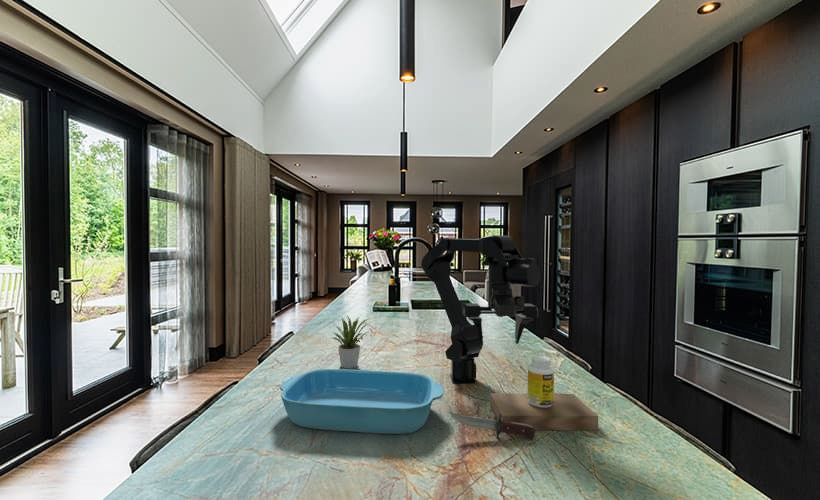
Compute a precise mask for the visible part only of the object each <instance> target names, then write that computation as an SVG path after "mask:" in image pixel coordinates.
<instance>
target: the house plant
mask: <svg viewBox="0 0 820 500" xmlns="http://www.w3.org/2000/svg"><path fill="white" fill-rule="evenodd" d="M345 316H346V319H347V321H346V320H345V319H344V318H343V317H341V322H342V328H343V330H342V329H341V327H339V326H338V325H336V324H335V323H334V322H331V321H328V322H329V323H331V324H333V325H334V326H335V327H336V328H337V329H338V331H339V333H340V334H341V335H342V336H341V335H340V334H338V333H337V332H335V331H334V332H332V333H333V334H334V335H335V336H336V337H331V338H330V339H332V340H336V341H338V342H339V343H340V345H337V346H338V347H337V348H338V356H339V361H340V366H341V368H342V367H344V368H343V369H353V367H355V368H357V367H358V364H359V358H360V352H361V345H360V344H358V343H361V340H363V339H364V336H367V333H369V331H367V332H364V333H361V332H362V330H363V329H364V328H365V327H366V326H368V325H369V323H366V321H368V320H372V319H373V318H372V317H370V318H366V319H364V320H363V321H361V322H360V323H359V319H360V316H358V317H357V318H356V319H354V321H353V322H352V320H351V318H350V317H349V316H348V315H347V314H345ZM347 322H348V323H347ZM358 323H359V325H358ZM362 325H363V326H362ZM361 326H362V327H361ZM360 327H361V328H360ZM359 329H360V330H359ZM358 330H359V331H358ZM356 366H357V367H356Z"/></svg>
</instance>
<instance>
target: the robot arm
mask: <svg viewBox="0 0 820 500" xmlns="http://www.w3.org/2000/svg"><path fill="white" fill-rule="evenodd" d="M456 252H470V253H478V254H481V255H482V256H485V257H486V258H485V259H484V260H483V261H482V262H481V265H482V266H487V267H488V285H487V293H488V295H487V297H488V298H487V300H488V302H487V306H480V304H478V303H467V302H466V303H463V304H461V301H460V299H459V296H458V294H457V292H456V289H455V287H454V284H453V282H452V280H451V273H452V267H451V263H452V262H453V260H455V255H456ZM536 262H537V260H536V258H534V257H533V258H523V256H522V253H520V251H519V249H518V248H517V246H516V243H515V241H514V239H513V237H512V236H511V235H499V234H497V235H495V234H493V235H492V234H491V235H488V236H487V235H486V236H482V237H481V238H480V237H479V238H456V237H443V238H441V239H440V241H439V242H438V243H437V244H436V245H434V246H433V247H431V248H430V249H429V250H428V251H427V252H426V253H425V255H424V256H423V257H422V260H421V263H420V265H421V268H422V270H423V272H424V274H425V276H426V278H428V279H429V280H430V281H432V283H434V285H435V288H436V290H437V293H438V295H439V298H440V301H441V304H442V305H443V308H444V311H445V313H446V317H447V318H448V322H449V323H450V325H451V330H450V331H451V332H450V341H451V344H450V346H449V347H448V348H447V349H446V350H445V352H444V353H445V357H446V359H447V360H450V374H449V376H450V380H451V382H452V383H453V384H476V379H477V364H476V361H475V358H479V356H480V353H481V352H482V350H483V345H484V340H483V339H484V336H483V327H482V326H483V325H482V321H483V319H482V317H480V316H481V315H484V314H486V315H490V314H491V315H492V314H493V315H496V316H497V317H499V318H503V317H511V318H514V317H515V325H514V326H515V328H514V339H515V340H514V341H515V344H516V345H517V344H519V343H520V339H521V337H522V335H523V332H524V329H525V327H526V325H528V323H529V322H530V321H531V322H532V321H534V318H535V319H537V318H539V308H538V307H537V306H536V305H534V304H532V303H525V298H524V296H523V295H516V296H513V290H512V285H513V286H523V287H533V288H535V287H537V285H539V283H540V280H541V275H542V272H541V271H540V270H541V269H540V267H539V265H538V264H537V263H536ZM469 321H472V323H473V324H471V322H469Z"/></svg>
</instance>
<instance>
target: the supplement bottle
mask: <svg viewBox="0 0 820 500" xmlns="http://www.w3.org/2000/svg"><path fill="white" fill-rule="evenodd" d="M551 365H552V364H551V358H550V357H548V356H544V355H543V356H542V355H534V356H532V357H531V364H529V365H528V366H527V393H526V394H527V400H528V402H529V403H530V404H531V405H533V406H535V407H540V408H548V407H551V406H552V405H553V396H554V394H555V393H554V391H555V390H554V388H555V386H554V385H555V384H554V383H555V369H554V367H552V366H551Z"/></svg>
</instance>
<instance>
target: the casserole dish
mask: <svg viewBox="0 0 820 500" xmlns="http://www.w3.org/2000/svg"><path fill="white" fill-rule="evenodd" d="M434 380H435V379H434V378H432V377H431V376H429V375H426V374H422V373H414V372H401V371H383V370H368V369H367V370H363V369H349V368H342V369H341V368H321V369H313V370H309V371H306V372H304V373H302V374H298V375H296V376H292V377H290V378H288V379H286V380H284V381H283V382H282V383H281V384H280V385H279V389H280V391H281V395H280V397H281V400H282V405H283V406H284V410H285V412H286V414H287V416H288V418H289V419H290V421H291V422H293V423H294V424H295V425H297V426H299V427H302V428H306V429H313V430H323V431H324V430H325V431H335V432H336V431H339V432H353V433H355V432H356V433H364V434H365V433H367V434H385V435H388V434H389V435H403V434H407V435H408V434H412V433H414V432H417V431H418V430H420V429H421V428H422V427H423V426H424V425H425V424H426V422H427V420H428V417H429V414H430V411H431V408H432V404H433V401H436V400H439V399H441V398H442V397H443V396H444V387H443V386H442V385H441V384H440V383H439V382H436V381H434Z"/></svg>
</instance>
